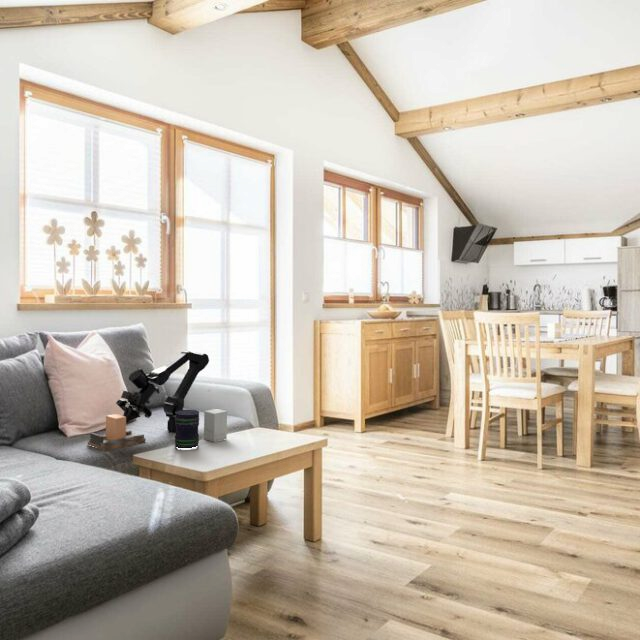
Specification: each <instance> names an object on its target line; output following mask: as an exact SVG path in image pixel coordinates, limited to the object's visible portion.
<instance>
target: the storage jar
mask: <svg viewBox="0 0 640 640" xmlns="http://www.w3.org/2000/svg"><path fill="white" fill-rule="evenodd" d="M199 425H200V411H199V410H197V409H183V410H179V411H176V416H175V426H176V432H175V435H174V444H175V445H174V448H175V447H178V448H192V447H196V446H198V447H199V441H200V440H199V439H200V438H199V437H200V434H199Z"/></svg>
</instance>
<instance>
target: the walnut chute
mask: <svg viewBox="0 0 640 640" xmlns="http://www.w3.org/2000/svg"><path fill="white" fill-rule="evenodd" d="M89 434H90V437H89V438H88V441H87V446H88V445H91V446H94V447H97V448H99V449H98V450H100V449H102V450H101V451H102V452H106V451H110V450H115V449H119V447H120V448H123V447H128V445H129V446H132V445H133V446H134V445H137V444H136V443H138V444H141V442H142V443H146V442H145V441H146V440H147V439H146V437H145V434H144V433H141V434H133V433H132V430H131V429H130V430H129V429H128V430H126V438H122V439H117V440H112V441H110V440H106V434H104V435H100V434H97V433H94V432H90V433H89ZM91 446H90V447H91ZM94 447H93V448H94ZM97 448H96V449H97Z"/></svg>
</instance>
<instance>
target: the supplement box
mask: <svg viewBox="0 0 640 640" xmlns="http://www.w3.org/2000/svg"><path fill="white" fill-rule="evenodd" d="M203 414H204V415H203V419H204V420H203V421H204V422H203V440H206V441H209V440H210V441H209V442H212V441H217V442H220V441H219V440H222V441H225V440H224V439H226V440H227V434H228V433H227V432H228V431H227V430H228V410H223V409H218V408H215V409H209V410H204V413H203Z"/></svg>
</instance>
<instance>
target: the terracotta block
mask: <svg viewBox="0 0 640 640" xmlns="http://www.w3.org/2000/svg"><path fill="white" fill-rule="evenodd" d="M126 431H127V423H126V417H125V416H123V415H121V414H119V413H118V414H117V413H114V414H109V415H106V416H105V435H106V440H110V441H112V440H117V439H122V438H126Z"/></svg>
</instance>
